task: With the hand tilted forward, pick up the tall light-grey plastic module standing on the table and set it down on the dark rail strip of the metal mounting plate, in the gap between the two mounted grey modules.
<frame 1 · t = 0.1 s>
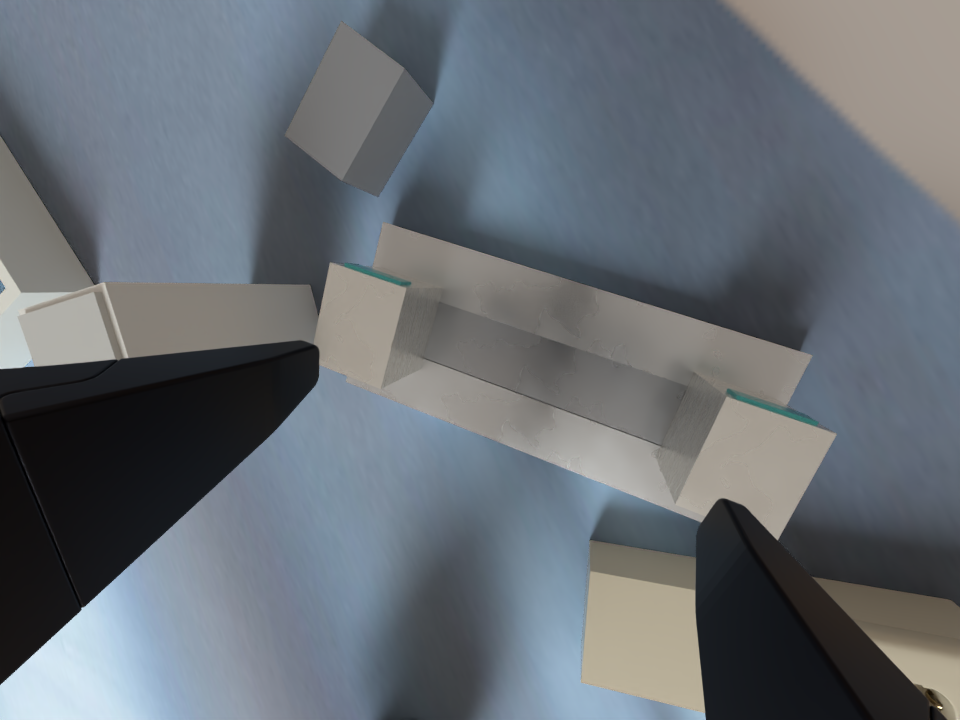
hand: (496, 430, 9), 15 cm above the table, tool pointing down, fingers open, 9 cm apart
grey rectangular block: (380, 132, 24), on the table
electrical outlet: (744, 617, 24), on the table
parts tray: (5, 265, 33), on the table
rail plate: (548, 366, 24), on the table
module: (288, 329, 28), on the table
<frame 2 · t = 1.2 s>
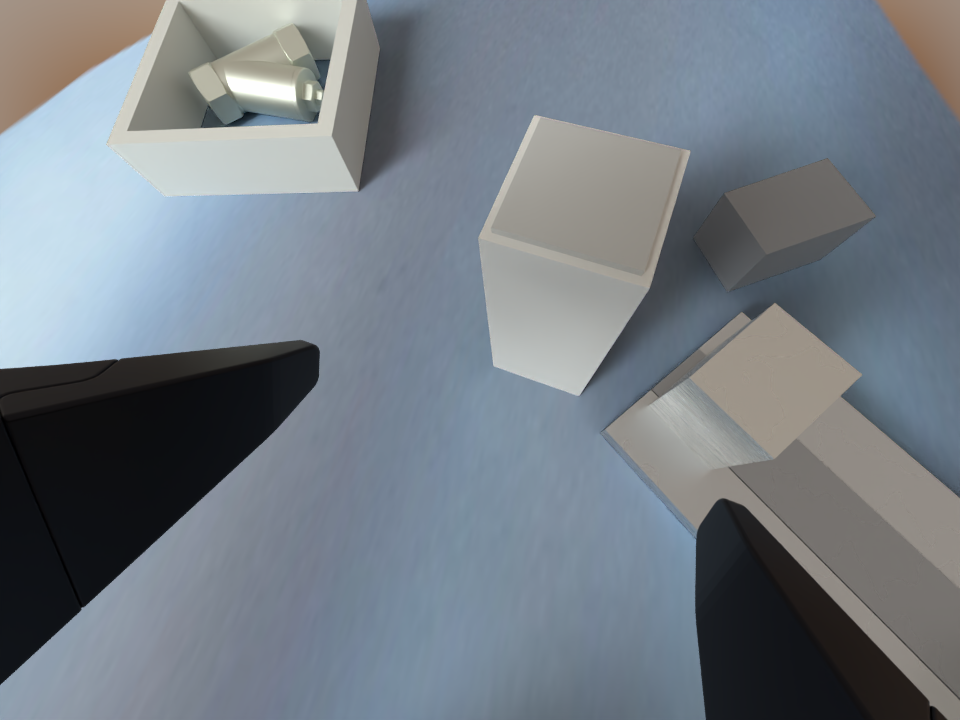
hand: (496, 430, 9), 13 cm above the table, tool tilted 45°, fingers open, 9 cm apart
grey rectangular block: (754, 249, 25), on the table
parts tray: (278, 118, 31), on the table
rail plate: (855, 558, 19), on the table
module: (549, 341, 24), on the table
pipe fitting: (281, 114, 32), resting in parts tray
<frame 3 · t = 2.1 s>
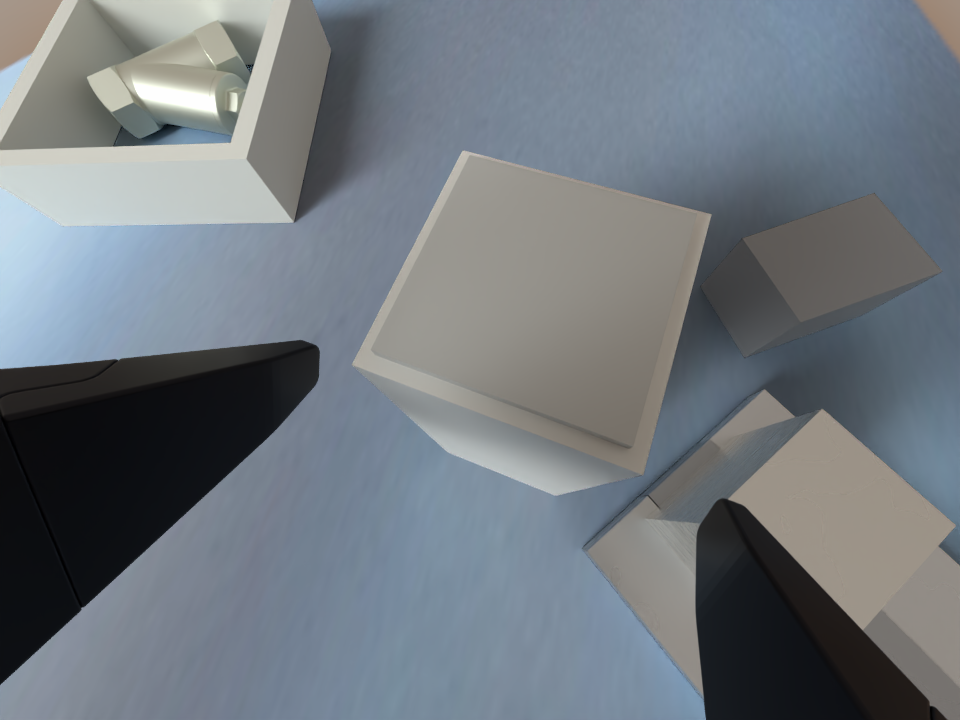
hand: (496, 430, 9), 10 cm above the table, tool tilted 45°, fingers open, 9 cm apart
grey rectangular block: (776, 302, 20), on the table
parts tray: (206, 132, 26), on the table
module: (519, 420, 19), on the table
pipe fitting: (209, 126, 27), resting in parts tray
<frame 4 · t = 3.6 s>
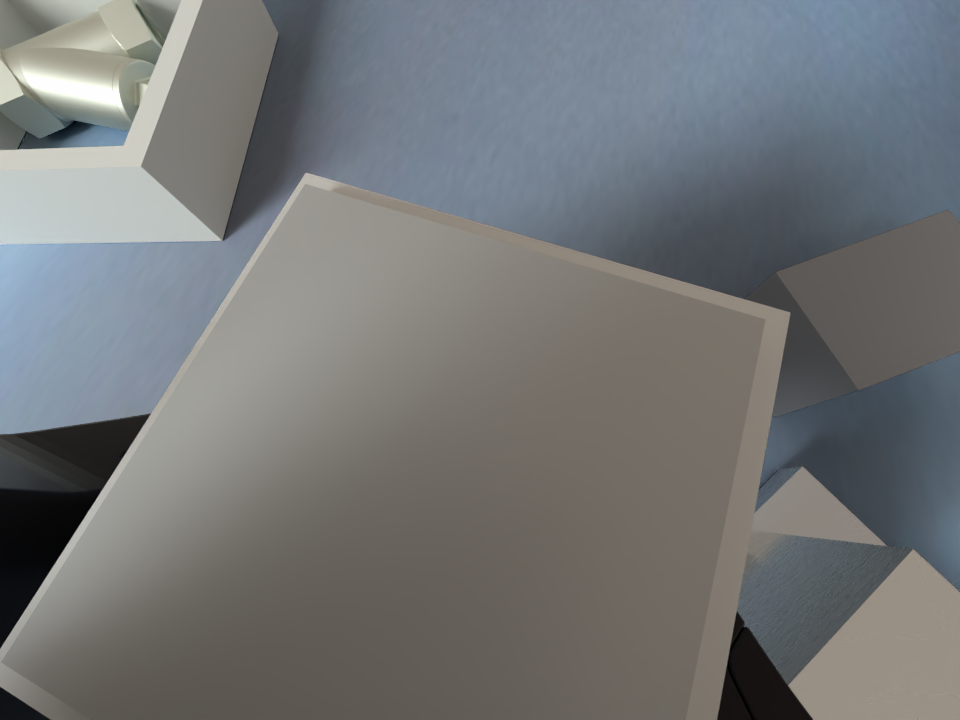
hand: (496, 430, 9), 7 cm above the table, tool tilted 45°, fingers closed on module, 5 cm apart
grey rectangular block: (812, 343, 16), on the table
parts tray: (127, 131, 22), on the table
module: (488, 497, 15), on the table, touching gripper
pipe fitting: (128, 124, 23), resting in parts tray
when the fingers open (9 cm above the table, at t = 8.5 s): module stays where it is, resting on rail plate.
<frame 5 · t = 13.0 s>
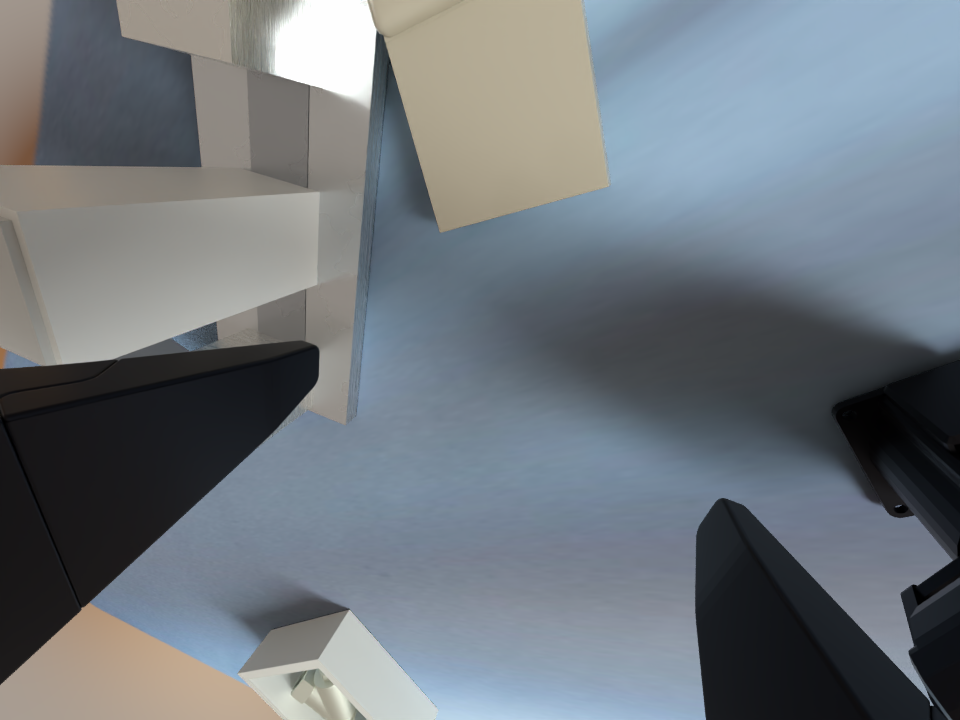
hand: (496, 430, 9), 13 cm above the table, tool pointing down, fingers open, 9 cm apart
grey rectangular block: (188, 369, 32), on the table
parts tray: (350, 667, 43), on the table
rail plate: (294, 225, 24), on the table
module: (278, 228, 22), point 1 cm above the table, touching rail plate
pipe fitting: (351, 672, 44), resting in parts tray
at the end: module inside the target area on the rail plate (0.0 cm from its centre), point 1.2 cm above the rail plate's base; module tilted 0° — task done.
